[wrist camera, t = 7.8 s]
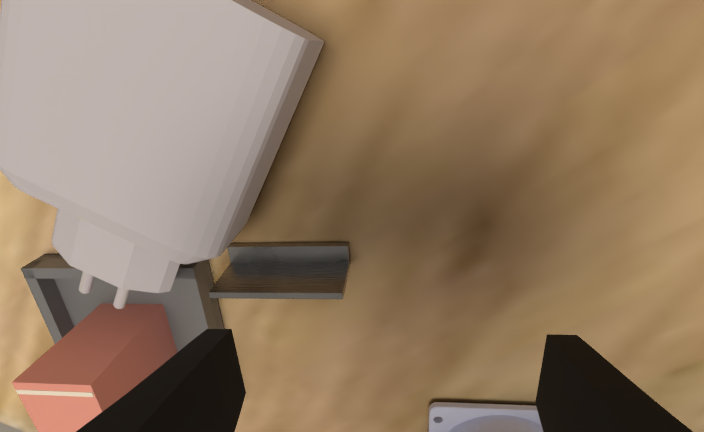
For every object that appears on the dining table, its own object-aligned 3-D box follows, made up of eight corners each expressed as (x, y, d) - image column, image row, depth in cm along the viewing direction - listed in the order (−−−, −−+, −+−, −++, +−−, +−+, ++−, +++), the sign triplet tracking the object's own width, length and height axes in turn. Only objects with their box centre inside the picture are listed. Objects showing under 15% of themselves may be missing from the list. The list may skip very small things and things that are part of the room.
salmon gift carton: (180, 364, 23) (120, 455, 18) (123, 362, 23) (47, 451, 18) (163, 304, 21) (90, 385, 16) (101, 303, 21) (11, 383, 16)
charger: (49, 234, 21) (109, -80, 15) (212, 308, 22) (328, 40, 16) (-42, 283, 16) (-9, -134, 10) (166, 374, 17) (304, 37, 11)
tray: (240, 398, 24) (231, 419, 23) (103, 393, 25) (86, 413, 24) (206, 253, 20) (192, 268, 19) (44, 254, 21) (21, 268, 20)
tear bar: (350, 263, 20) (342, 299, 17) (234, 263, 20) (209, 298, 18) (348, 242, 19) (340, 275, 16) (230, 243, 20) (204, 275, 17)
